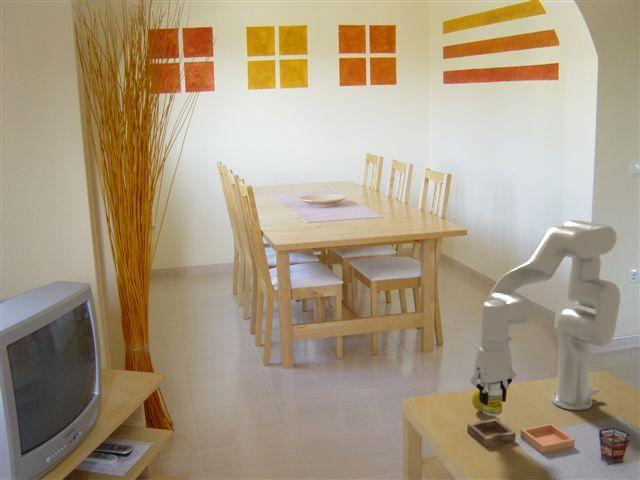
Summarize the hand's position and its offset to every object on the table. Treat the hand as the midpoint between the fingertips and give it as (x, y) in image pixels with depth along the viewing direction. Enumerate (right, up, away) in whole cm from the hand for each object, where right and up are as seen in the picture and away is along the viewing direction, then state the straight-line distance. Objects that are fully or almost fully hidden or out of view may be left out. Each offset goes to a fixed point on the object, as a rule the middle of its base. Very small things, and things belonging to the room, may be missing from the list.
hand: (492, 401), depth 204 cm
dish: (+15, -12, -2) cm, 19 cm away
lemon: (+1, -8, +18) cm, 20 cm away
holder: (0, -11, +2) cm, 11 cm away
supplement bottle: (0, -4, +1) cm, 4 cm away
